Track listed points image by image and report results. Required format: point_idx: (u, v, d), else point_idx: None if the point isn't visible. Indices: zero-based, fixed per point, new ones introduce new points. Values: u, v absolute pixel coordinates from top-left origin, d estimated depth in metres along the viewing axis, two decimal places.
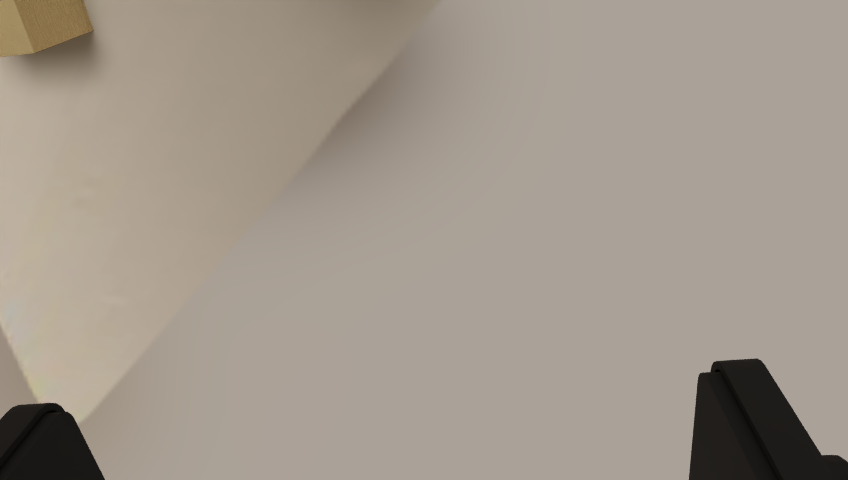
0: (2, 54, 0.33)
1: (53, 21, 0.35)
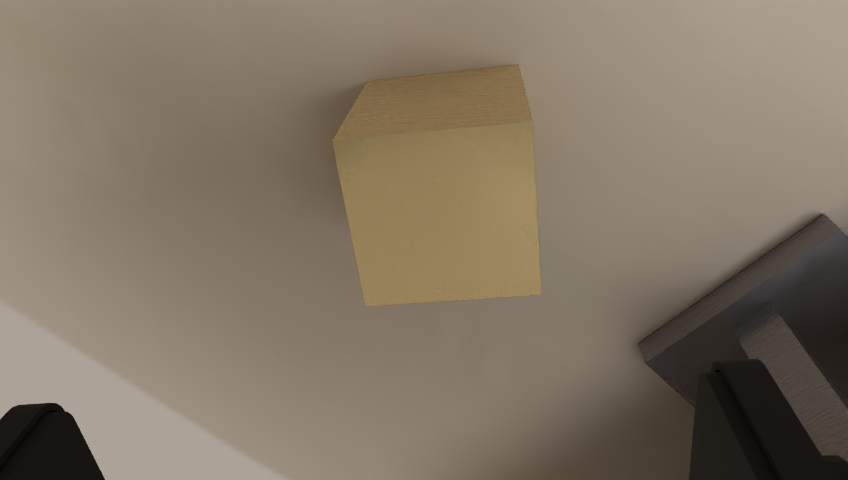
0: (358, 254, 0.18)
1: None
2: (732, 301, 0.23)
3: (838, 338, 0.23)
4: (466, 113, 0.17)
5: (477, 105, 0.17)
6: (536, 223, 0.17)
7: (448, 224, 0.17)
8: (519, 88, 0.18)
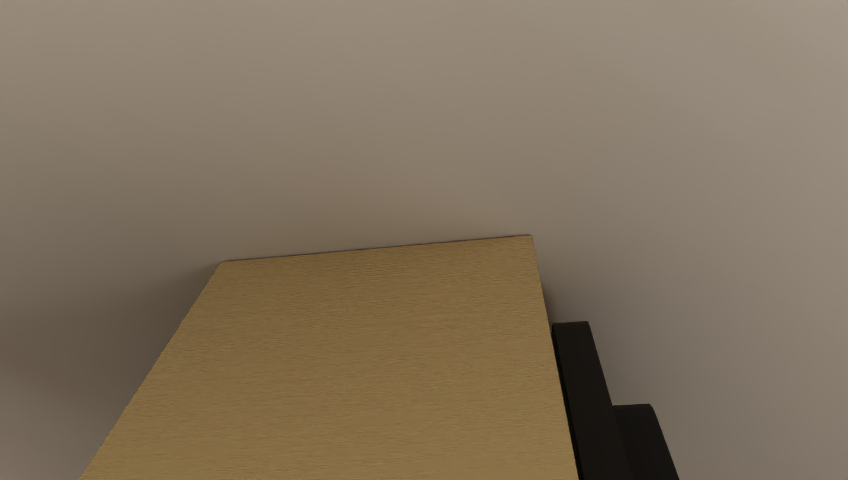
0: None
1: None
2: None
3: None
4: None
5: (435, 444, 0.06)
6: None
7: None
8: (542, 357, 0.07)
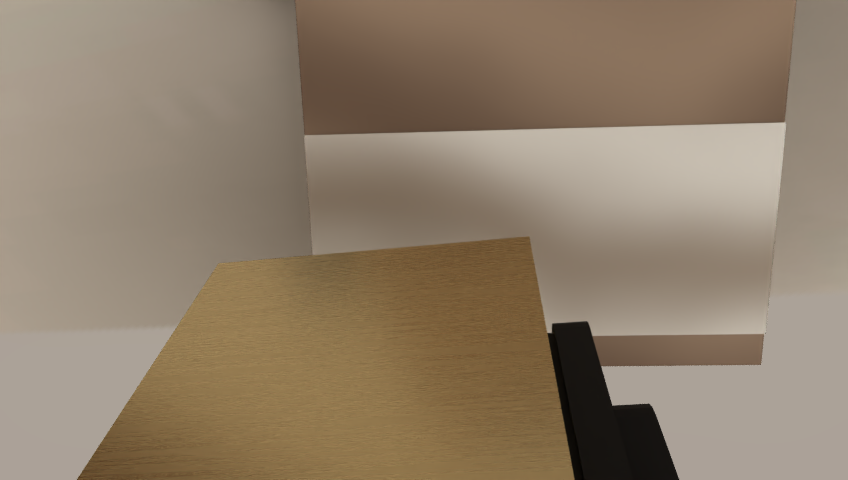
0: None
1: None
2: None
3: None
4: None
5: (432, 446, 0.06)
6: None
7: None
8: (539, 359, 0.07)
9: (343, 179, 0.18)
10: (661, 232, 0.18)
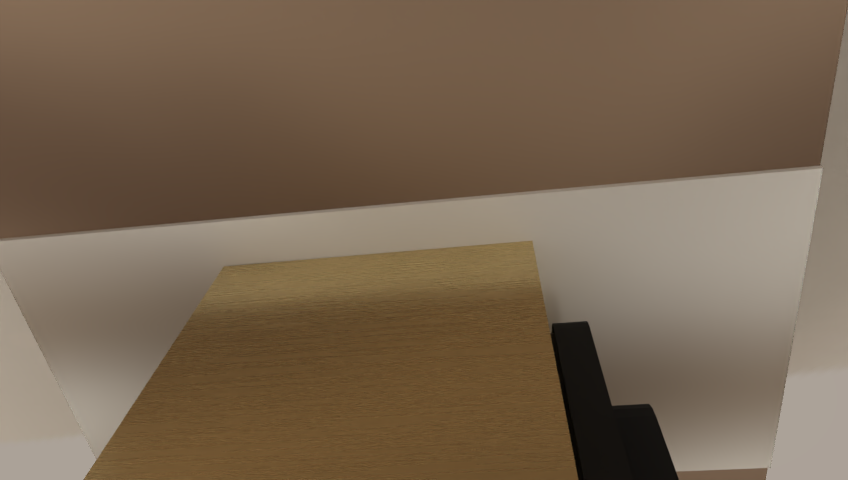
0: None
1: None
2: None
3: None
4: None
5: (436, 446, 0.07)
6: None
7: None
8: (543, 361, 0.07)
9: (73, 301, 0.11)
10: (599, 347, 0.11)
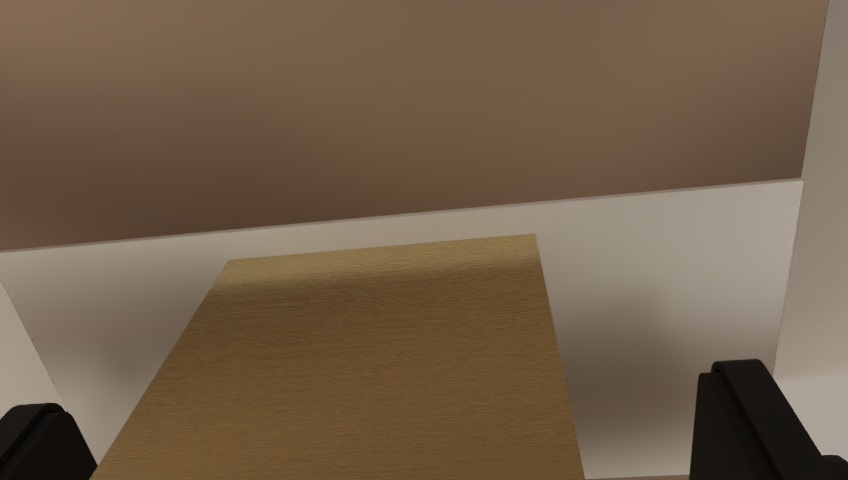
0: None
1: None
2: None
3: None
4: None
5: (442, 436, 0.07)
6: None
7: None
8: (547, 353, 0.08)
9: (72, 311, 0.11)
10: (589, 354, 0.11)
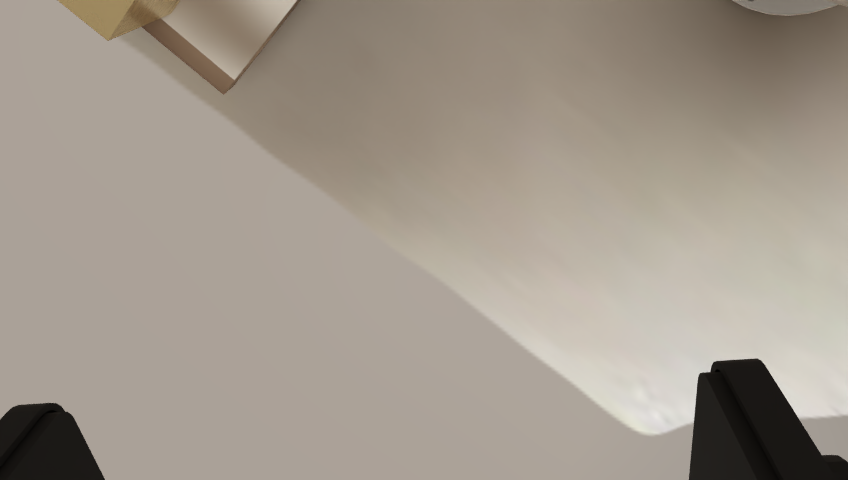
0: None
1: None
2: None
3: None
4: None
5: None
6: None
7: None
8: None
9: None
10: None
